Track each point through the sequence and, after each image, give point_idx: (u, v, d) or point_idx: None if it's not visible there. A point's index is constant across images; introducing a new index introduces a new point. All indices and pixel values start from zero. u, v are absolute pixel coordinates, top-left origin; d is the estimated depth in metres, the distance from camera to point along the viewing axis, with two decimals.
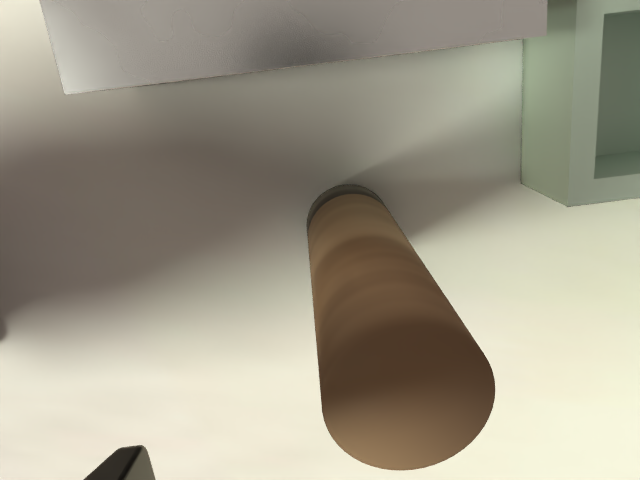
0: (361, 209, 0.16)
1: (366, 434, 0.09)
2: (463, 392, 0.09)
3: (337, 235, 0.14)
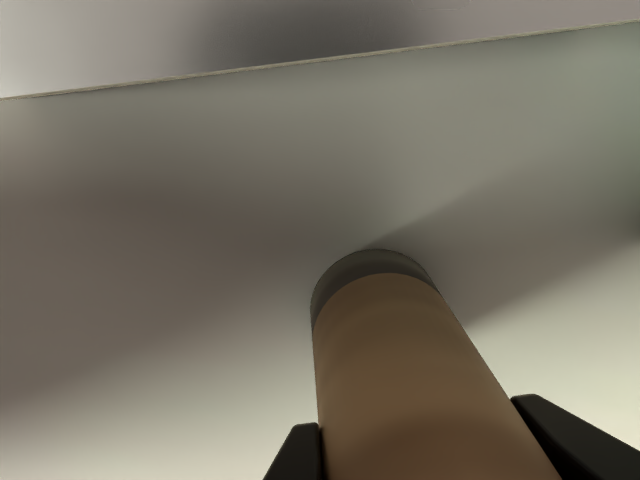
0: (408, 319, 0.09)
1: None
2: None
3: (372, 392, 0.07)
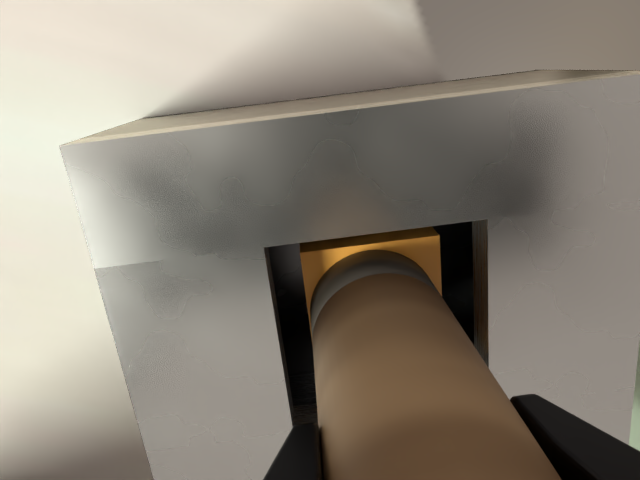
0: (408, 319, 0.09)
1: None
2: None
3: (372, 392, 0.07)
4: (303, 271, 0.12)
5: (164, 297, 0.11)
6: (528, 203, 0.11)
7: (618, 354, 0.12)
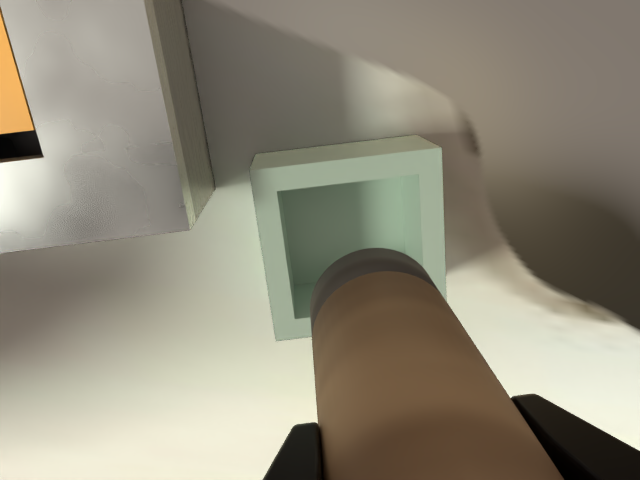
0: (408, 317, 0.09)
1: None
2: None
3: (372, 389, 0.07)
4: None
5: None
6: None
7: (147, 108, 0.14)
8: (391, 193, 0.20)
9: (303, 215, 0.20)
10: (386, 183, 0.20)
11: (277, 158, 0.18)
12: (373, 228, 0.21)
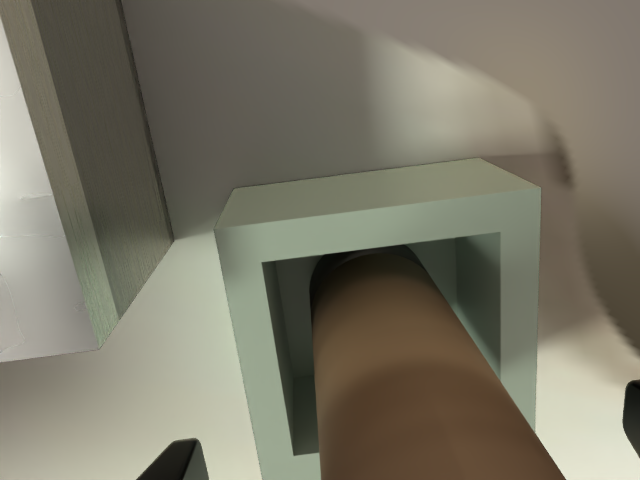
0: (396, 289, 0.10)
1: None
2: None
3: (361, 347, 0.08)
4: None
5: None
6: None
7: None
8: (440, 246, 0.13)
9: (307, 279, 0.14)
10: None
11: (264, 200, 0.11)
12: None
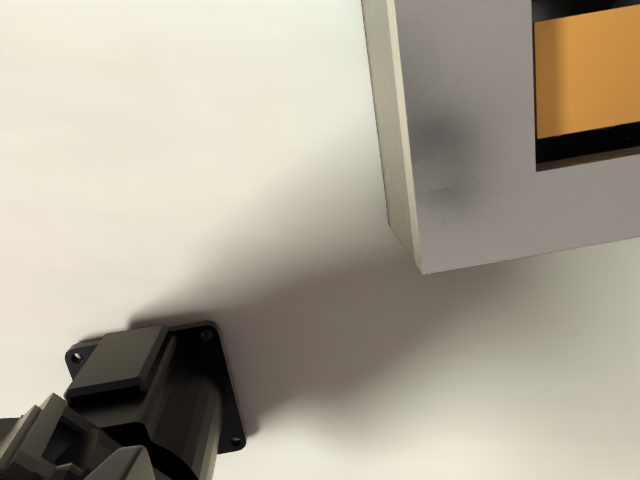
0: None
1: None
2: None
3: None
4: (536, 39, 0.15)
5: (448, 42, 0.14)
6: None
7: None
8: None
9: None
10: None
11: None
12: None
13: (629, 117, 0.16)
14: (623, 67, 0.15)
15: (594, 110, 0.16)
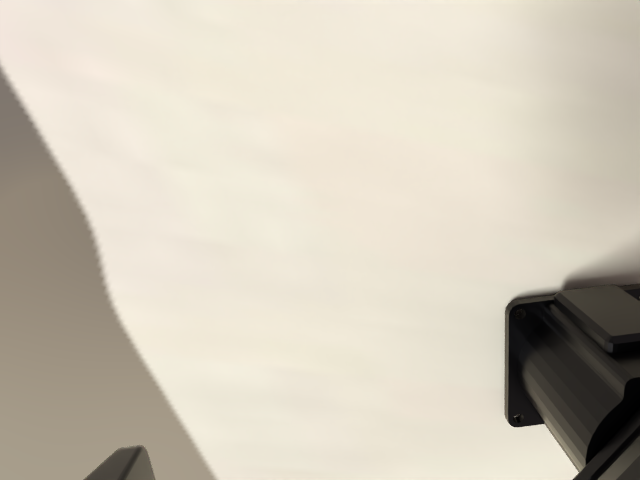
0: None
1: None
2: None
3: None
4: None
5: None
6: None
7: None
8: None
9: None
10: None
11: None
12: None
13: None
14: None
15: None
